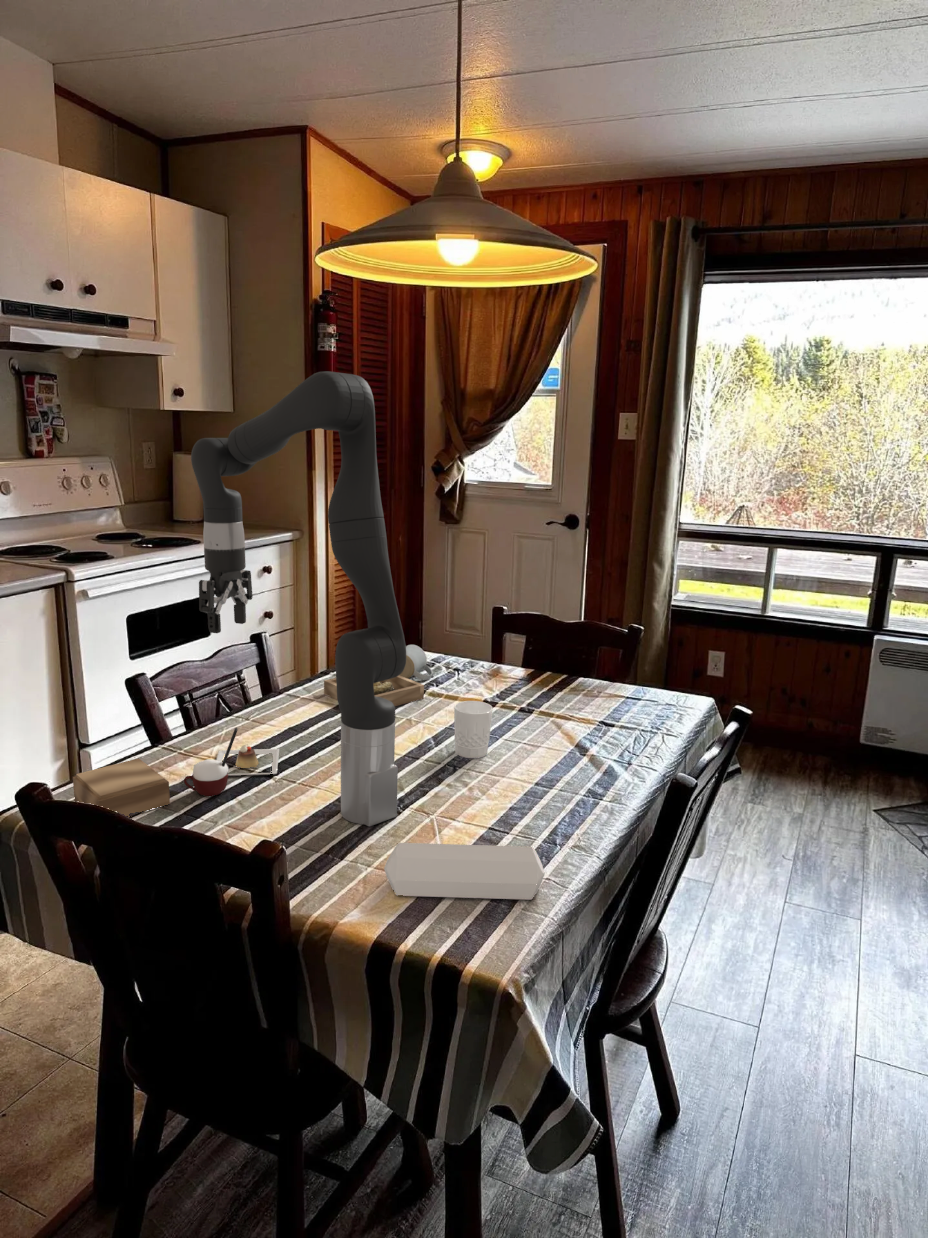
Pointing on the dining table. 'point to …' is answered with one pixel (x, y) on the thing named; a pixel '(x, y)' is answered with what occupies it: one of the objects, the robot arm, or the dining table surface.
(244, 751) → the dessert
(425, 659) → the ceramic mug
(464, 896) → the crystal
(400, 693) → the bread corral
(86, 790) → the walnut pedestal
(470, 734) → the white cup
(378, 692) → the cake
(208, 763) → the cocoa
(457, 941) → the dining table surface
